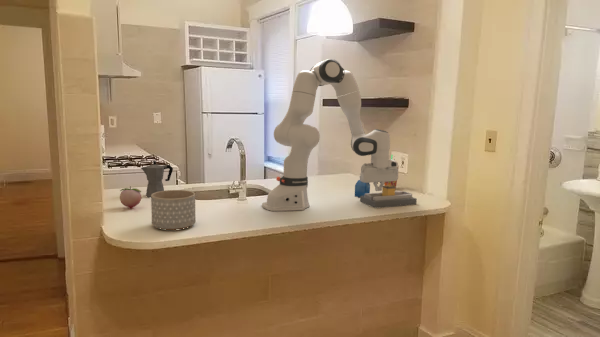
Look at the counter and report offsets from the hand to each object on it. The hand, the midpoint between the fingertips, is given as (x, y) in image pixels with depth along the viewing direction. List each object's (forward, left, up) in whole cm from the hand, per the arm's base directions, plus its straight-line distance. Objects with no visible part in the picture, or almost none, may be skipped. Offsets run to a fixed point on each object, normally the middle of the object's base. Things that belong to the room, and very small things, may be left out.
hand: (378, 190), depth 219 cm
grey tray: (+6, 0, -7) cm, 9 cm away
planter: (-99, -7, -7) cm, 99 cm away
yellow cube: (+6, 0, -3) cm, 7 cm away
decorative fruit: (-113, +27, -7) cm, 116 cm away
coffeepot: (-99, +50, -7) cm, 111 cm away
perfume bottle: (+2, +18, -7) cm, 19 cm away
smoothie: (+29, +31, -7) cm, 43 cm away
